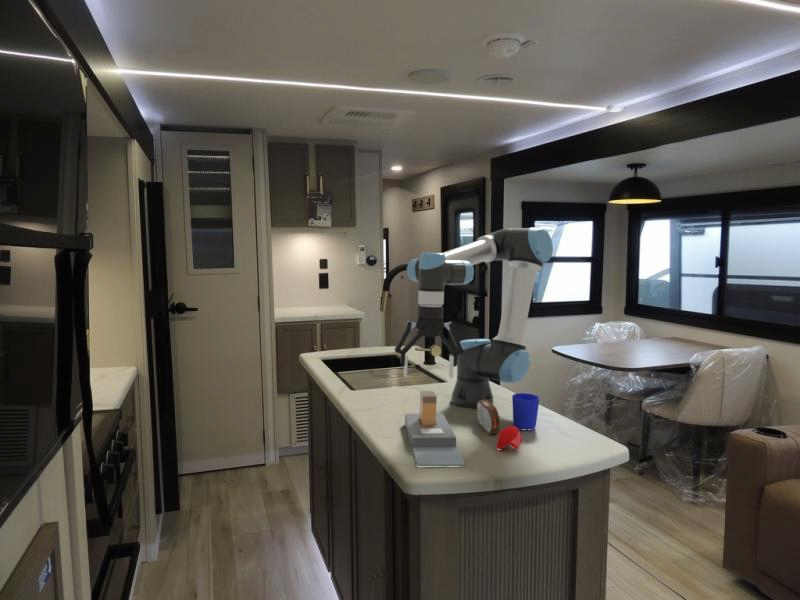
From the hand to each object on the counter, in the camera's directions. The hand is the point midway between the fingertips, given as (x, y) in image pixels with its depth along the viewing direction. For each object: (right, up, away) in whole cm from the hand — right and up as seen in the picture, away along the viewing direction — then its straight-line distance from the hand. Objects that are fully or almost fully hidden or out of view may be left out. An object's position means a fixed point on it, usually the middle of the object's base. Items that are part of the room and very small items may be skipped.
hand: (428, 376), depth 160 cm
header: (0, -17, -1) cm, 17 cm away
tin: (+19, -17, +6) cm, 26 cm away
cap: (+22, -19, -9) cm, 30 cm away
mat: (+2, -19, -18) cm, 26 cm away
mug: (+31, -17, +11) cm, 37 cm away
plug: (0, -17, +2) cm, 17 cm away
